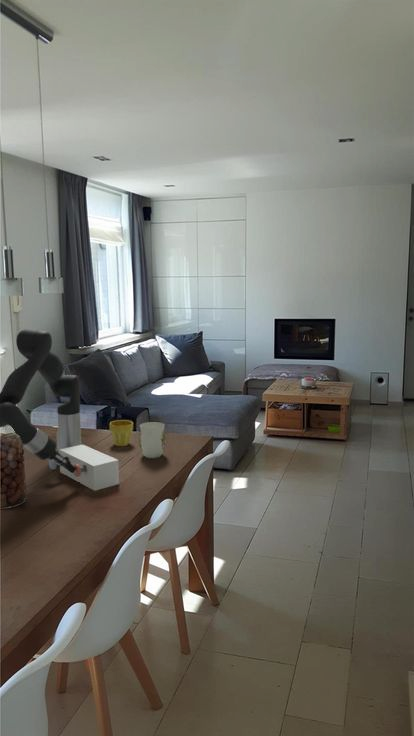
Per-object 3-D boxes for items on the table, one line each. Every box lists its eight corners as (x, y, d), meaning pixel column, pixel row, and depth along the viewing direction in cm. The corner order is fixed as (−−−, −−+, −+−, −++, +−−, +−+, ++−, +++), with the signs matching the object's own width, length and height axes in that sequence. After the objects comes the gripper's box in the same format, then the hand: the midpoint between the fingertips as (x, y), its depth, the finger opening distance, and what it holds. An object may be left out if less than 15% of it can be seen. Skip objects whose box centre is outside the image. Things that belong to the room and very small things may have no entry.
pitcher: (168, 448, 250) (167, 417, 248) (164, 461, 233) (163, 428, 231) (143, 448, 251) (142, 417, 249) (136, 461, 233) (136, 428, 231)
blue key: (54, 470, 210) (53, 459, 209) (48, 467, 213) (48, 456, 212) (75, 465, 215) (75, 454, 214) (69, 462, 218) (69, 451, 218)
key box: (94, 490, 202) (93, 466, 200) (60, 472, 221) (59, 449, 220) (119, 484, 208) (118, 460, 207) (83, 466, 227) (82, 444, 226)
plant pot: (131, 447, 253) (131, 425, 251) (108, 447, 253) (107, 425, 251) (135, 440, 263) (134, 419, 261) (112, 440, 263) (111, 419, 262)
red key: (78, 478, 202) (78, 466, 201) (72, 474, 205) (72, 463, 204) (100, 472, 207) (99, 461, 207) (94, 469, 211) (93, 458, 210)
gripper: (54, 438, 189) (89, 466, 199) (37, 430, 199) (71, 457, 209) (40, 457, 186) (76, 484, 196) (23, 448, 196) (58, 474, 206)
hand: (73, 470), depth 202 cm, fingers closed
